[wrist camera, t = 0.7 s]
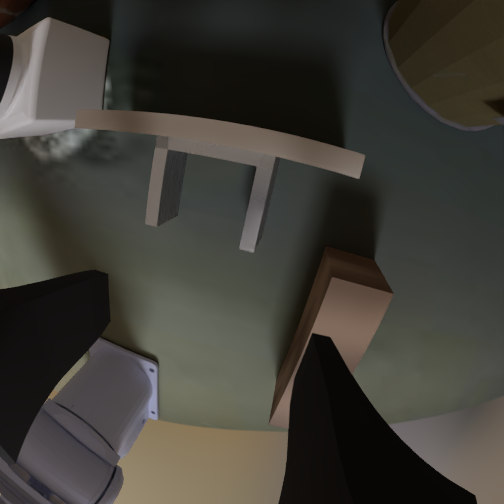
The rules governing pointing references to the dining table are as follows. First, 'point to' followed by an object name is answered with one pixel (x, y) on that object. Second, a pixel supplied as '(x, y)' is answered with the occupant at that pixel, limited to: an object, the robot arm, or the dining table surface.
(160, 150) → the bracket
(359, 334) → the brown wooden block
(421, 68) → the canister
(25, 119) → the medicine bottle
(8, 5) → the butternut squash
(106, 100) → the dining table surface
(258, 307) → the dining table surface
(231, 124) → the wall plate
